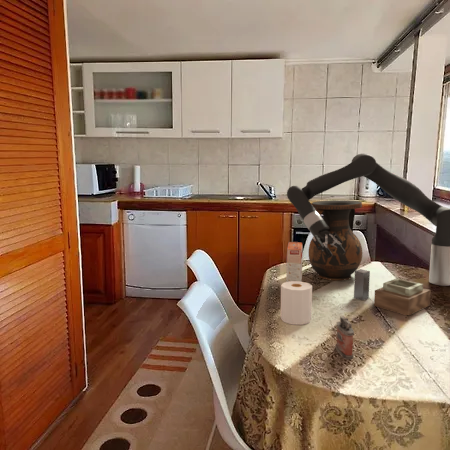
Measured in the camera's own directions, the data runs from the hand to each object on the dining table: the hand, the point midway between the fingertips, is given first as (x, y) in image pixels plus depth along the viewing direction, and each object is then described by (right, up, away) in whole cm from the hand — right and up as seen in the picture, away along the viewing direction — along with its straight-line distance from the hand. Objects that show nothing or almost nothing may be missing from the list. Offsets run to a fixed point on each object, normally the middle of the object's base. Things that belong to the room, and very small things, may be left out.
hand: (337, 255), depth 165 cm
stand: (+20, -18, -15) cm, 31 cm away
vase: (+5, -12, +25) cm, 28 cm away
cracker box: (-18, -16, -3) cm, 25 cm away
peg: (+7, -16, -7) cm, 19 cm away
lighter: (-13, -24, -51) cm, 58 cm away
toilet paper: (-22, -20, -27) cm, 40 cm away
